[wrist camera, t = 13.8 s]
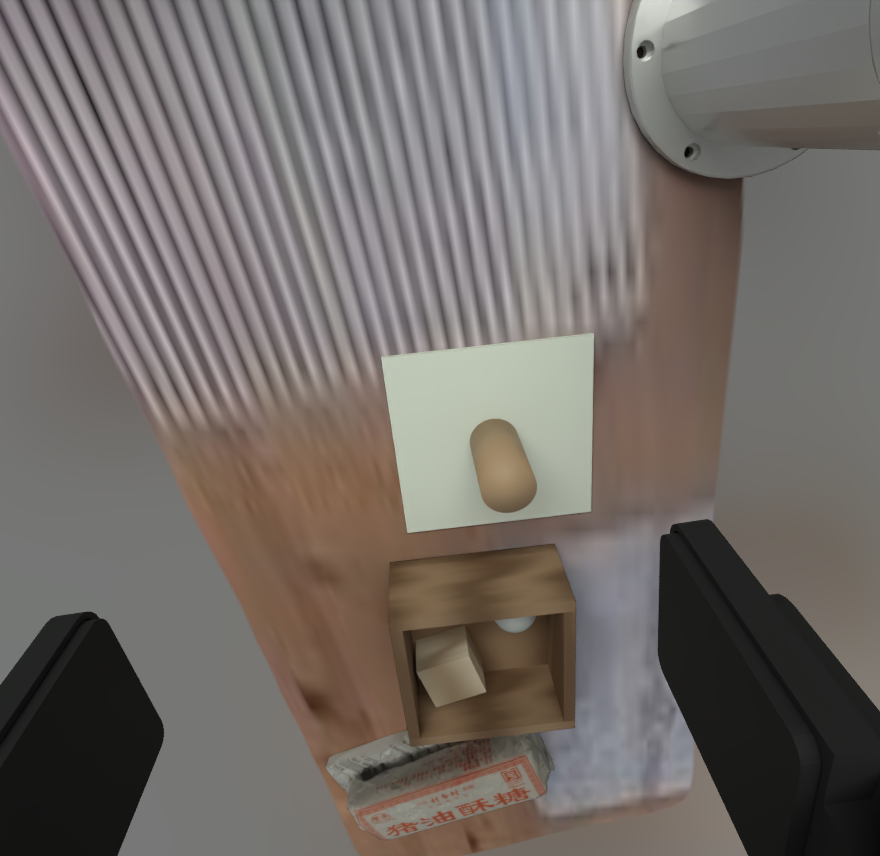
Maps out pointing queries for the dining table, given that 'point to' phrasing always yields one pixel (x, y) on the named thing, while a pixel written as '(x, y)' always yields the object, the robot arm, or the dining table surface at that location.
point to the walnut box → (488, 641)
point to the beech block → (450, 666)
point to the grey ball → (516, 624)
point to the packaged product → (437, 780)
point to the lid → (493, 431)
